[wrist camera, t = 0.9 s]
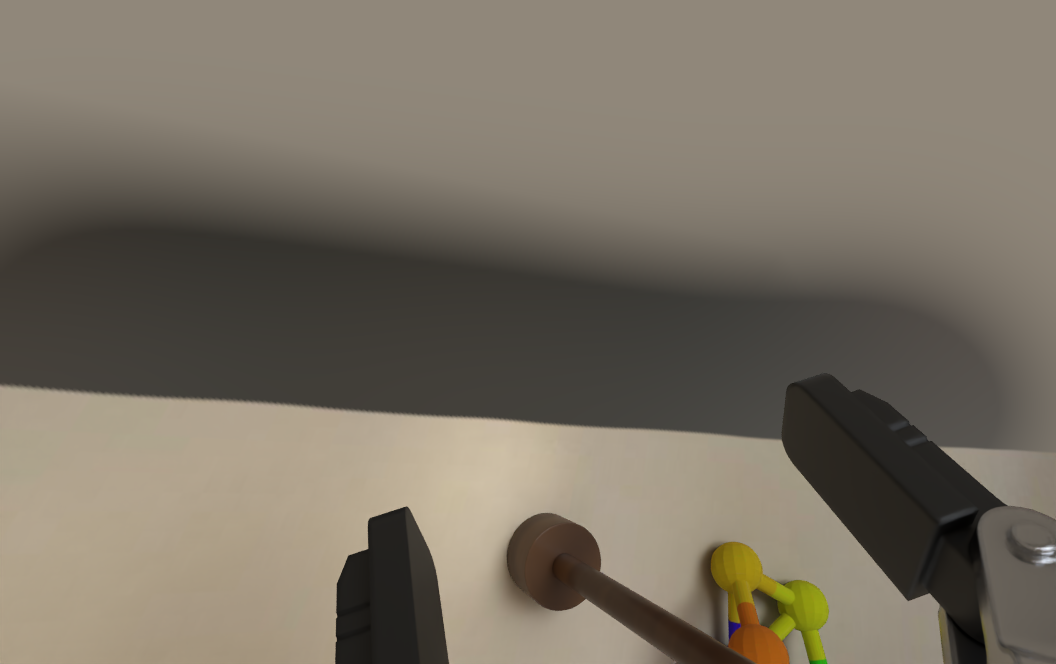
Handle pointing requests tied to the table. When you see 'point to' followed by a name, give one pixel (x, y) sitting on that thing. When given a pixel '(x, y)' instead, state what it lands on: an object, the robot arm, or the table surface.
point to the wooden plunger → (600, 589)
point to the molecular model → (795, 600)
